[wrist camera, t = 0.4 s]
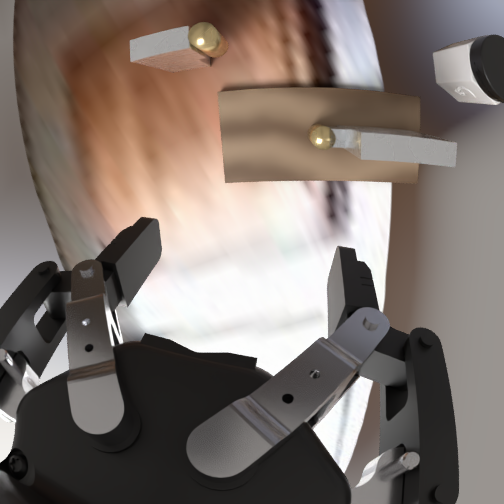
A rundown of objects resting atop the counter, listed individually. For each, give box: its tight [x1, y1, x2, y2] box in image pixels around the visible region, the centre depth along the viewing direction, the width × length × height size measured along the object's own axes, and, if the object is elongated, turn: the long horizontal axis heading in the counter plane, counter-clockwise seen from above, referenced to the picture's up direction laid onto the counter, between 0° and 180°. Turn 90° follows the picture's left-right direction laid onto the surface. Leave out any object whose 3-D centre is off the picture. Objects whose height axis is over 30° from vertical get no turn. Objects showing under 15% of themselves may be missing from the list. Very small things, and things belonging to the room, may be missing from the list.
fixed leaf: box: [308, 124, 457, 167], centre depth 28 cm, size 3×14×12 cm, turn 94°
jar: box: [433, 35, 504, 105], centre depth 22 cm, size 9×8×12 cm
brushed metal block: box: [130, 22, 228, 73], centre depth 26 cm, size 8×3×12 cm, turn 93°
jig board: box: [218, 87, 420, 184], centre depth 34 cm, size 12×26×1 cm, turn 93°
